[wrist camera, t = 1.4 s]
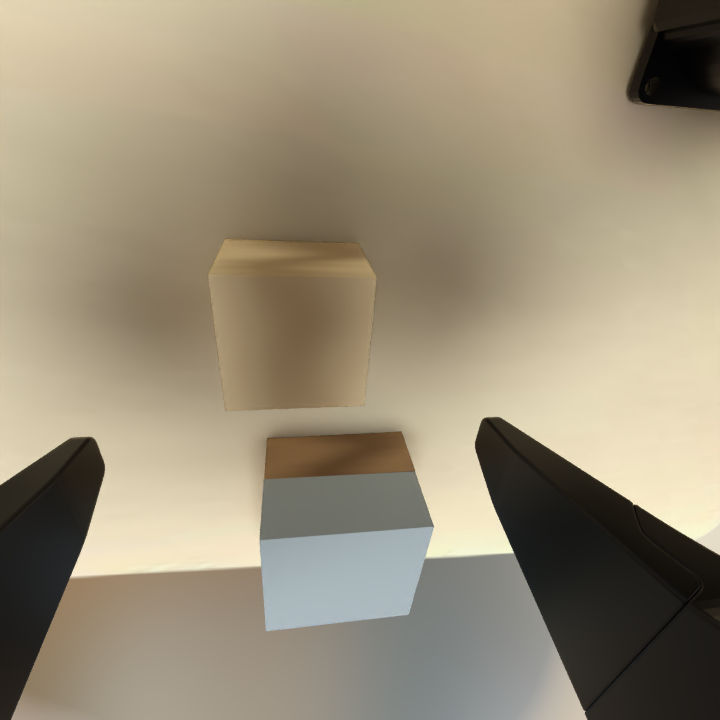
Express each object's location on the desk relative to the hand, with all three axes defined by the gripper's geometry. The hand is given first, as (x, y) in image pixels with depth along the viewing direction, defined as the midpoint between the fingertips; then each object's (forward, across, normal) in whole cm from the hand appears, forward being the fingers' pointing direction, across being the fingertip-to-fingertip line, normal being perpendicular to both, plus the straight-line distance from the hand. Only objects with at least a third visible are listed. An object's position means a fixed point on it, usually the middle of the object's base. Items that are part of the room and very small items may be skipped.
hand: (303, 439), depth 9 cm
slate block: (+6, -2, +11) cm, 12 cm away
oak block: (+8, 0, 0) cm, 9 cm away
